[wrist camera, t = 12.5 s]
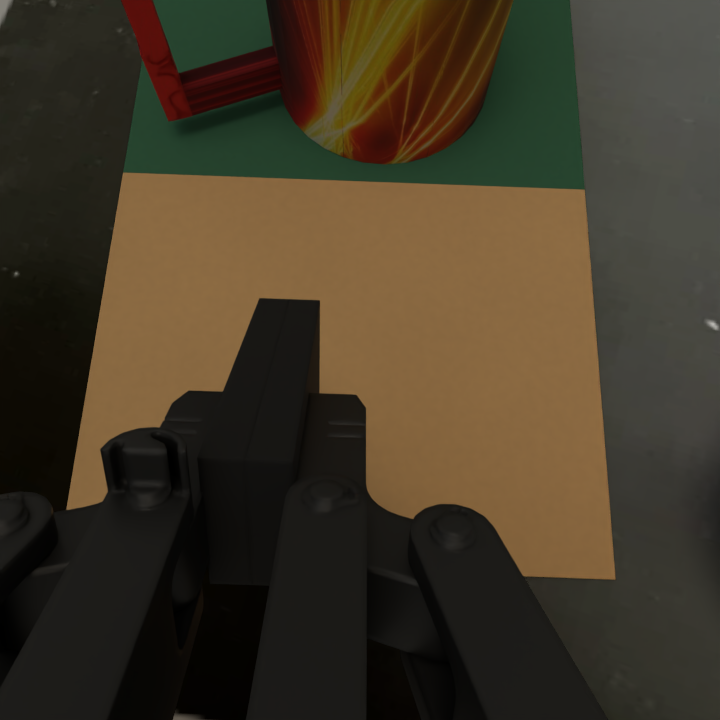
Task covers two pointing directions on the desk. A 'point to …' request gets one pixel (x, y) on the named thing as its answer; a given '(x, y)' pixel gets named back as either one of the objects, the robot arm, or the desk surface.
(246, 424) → the robot arm
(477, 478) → the desk mat
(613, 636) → the desk surface
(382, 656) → the desk surface
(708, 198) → the desk surface
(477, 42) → the mug
